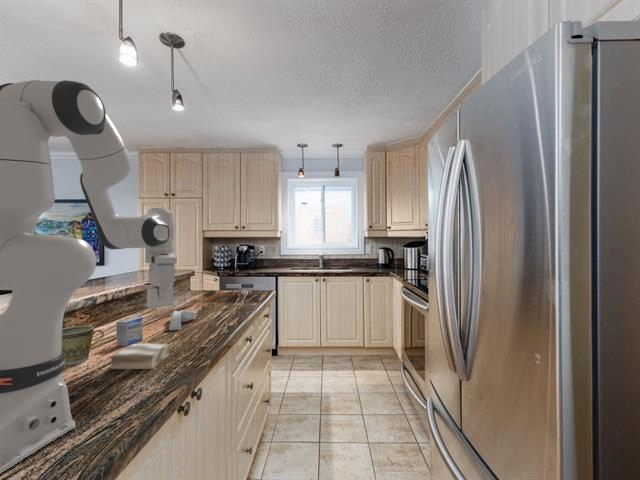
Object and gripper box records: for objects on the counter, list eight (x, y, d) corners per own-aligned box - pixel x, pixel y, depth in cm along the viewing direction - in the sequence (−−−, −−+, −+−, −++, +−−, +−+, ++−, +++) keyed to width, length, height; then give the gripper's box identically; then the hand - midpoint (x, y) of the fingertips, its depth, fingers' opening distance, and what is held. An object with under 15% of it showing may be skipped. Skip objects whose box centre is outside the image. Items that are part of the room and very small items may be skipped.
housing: (173, 305, 106) (173, 286, 106) (149, 307, 102) (149, 288, 102) (169, 303, 110) (169, 285, 110) (147, 305, 106) (147, 286, 106)
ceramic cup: (46, 369, 94) (46, 335, 94) (64, 357, 103) (63, 326, 103) (97, 364, 97) (97, 332, 97) (109, 353, 107) (109, 323, 107)
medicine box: (126, 346, 114) (126, 322, 114) (116, 345, 115) (115, 321, 115) (143, 339, 122) (143, 317, 122) (133, 339, 123) (132, 316, 123)
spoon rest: (172, 318, 156) (172, 303, 156) (198, 317, 159) (198, 302, 159) (160, 332, 133) (160, 314, 133) (190, 330, 136) (190, 313, 136)
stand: (152, 368, 94) (151, 355, 94) (111, 368, 94) (111, 355, 94) (169, 355, 105) (169, 343, 105) (133, 355, 105) (133, 343, 105)
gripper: (144, 257, 113) (143, 296, 112) (156, 258, 96) (156, 304, 96) (163, 256, 116) (163, 294, 116) (178, 258, 100) (178, 302, 100)
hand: (160, 299), depth 106 cm, fingers closed on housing, 4 cm apart
